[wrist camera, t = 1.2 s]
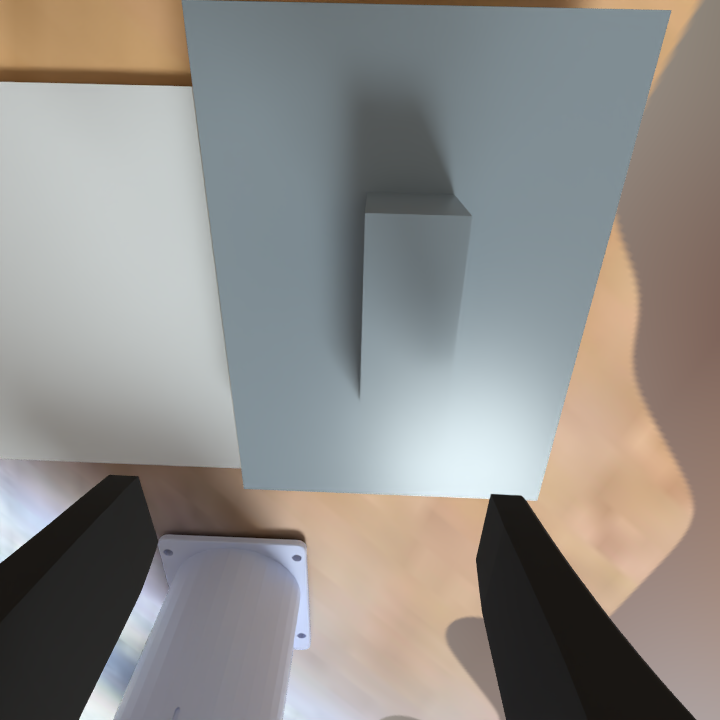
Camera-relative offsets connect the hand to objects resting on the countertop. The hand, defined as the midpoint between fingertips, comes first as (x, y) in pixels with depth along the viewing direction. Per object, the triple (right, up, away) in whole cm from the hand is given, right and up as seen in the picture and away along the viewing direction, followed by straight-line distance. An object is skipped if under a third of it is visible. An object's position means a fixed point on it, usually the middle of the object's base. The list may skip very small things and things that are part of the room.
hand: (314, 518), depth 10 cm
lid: (+2, +5, +6) cm, 8 cm away
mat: (-11, +5, +10) cm, 15 cm away
